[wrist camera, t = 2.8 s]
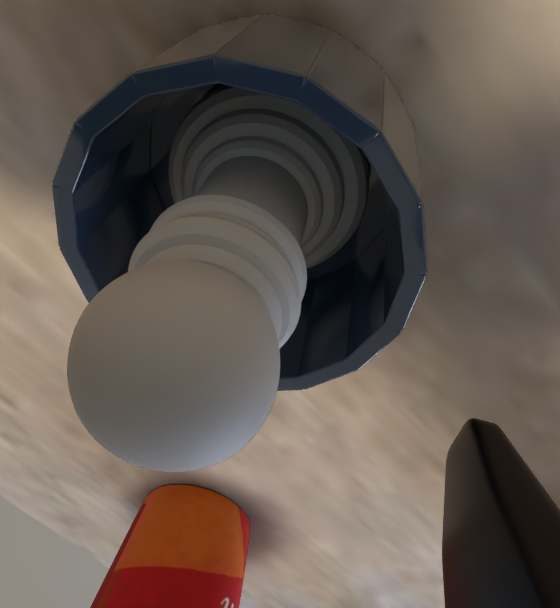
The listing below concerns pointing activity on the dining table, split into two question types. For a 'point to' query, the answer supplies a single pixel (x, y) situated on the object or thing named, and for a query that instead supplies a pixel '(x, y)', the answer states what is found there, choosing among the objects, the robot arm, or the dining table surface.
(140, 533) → the paper cup
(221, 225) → the chess piece
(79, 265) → the ceramic cup
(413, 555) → the dining table surface
